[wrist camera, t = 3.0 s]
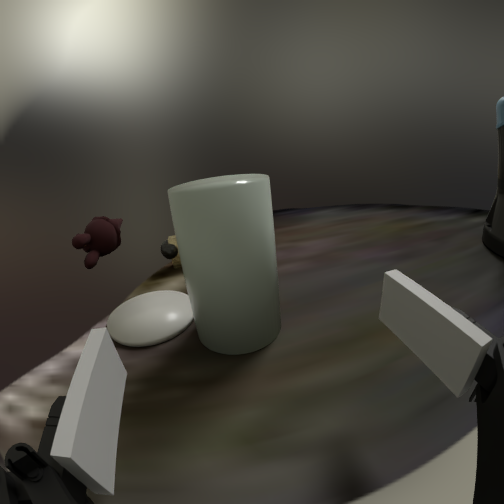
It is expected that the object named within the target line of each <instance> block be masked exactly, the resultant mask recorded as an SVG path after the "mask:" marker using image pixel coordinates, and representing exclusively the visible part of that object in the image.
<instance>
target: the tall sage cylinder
mask: <svg viewBox="0 0 504 504" xmlns="http://www.w3.org/2000/svg"><path fill="white" fill-rule="evenodd" d="M168 196H169V202H170V208H171V214H172V219H173V224H174V230H175V235H176V240H177V245H178V250H179V255H180V260H181V264H182V269H183V274H184V278H185V283H186V287H187V291H188V296H189V300H190V304H191V308H192V312H193V316H194V320H195V324H196V328H197V332H198V336H199V339H200V341H201V342H202V344H203V345H204V346H205V347H207V348H208V349H210V350H212V351H214V352H217V353H221V354H228V355H238V354H246V353H250V352H254V351H257V350H259V349H262V348H264V347H265V346H267V345H269V344H270V343H271V342H273V341H274V340H275V338H276V337H277V336H278V334H279V332H280V329H281V316H280V301H279V287H278V274H277V261H276V248H275V236H274V224H273V213H272V202H271V191H270V181H269V176H268V175H263V174H239V175H229V176H219V177H213V178H206V179H201V180H197V181H192V182H188V183H184V184H180V185H178V186H175V187H172V188H170V189H169V190H168Z"/></svg>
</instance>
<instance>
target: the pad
mask: <svg viewBox="0 0 504 504" xmlns="http://www.w3.org/2000/svg"><path fill="white" fill-rule="evenodd" d="M193 320H194V316H193V312H192V308H191V304H190V300H189V296H188V295H186V294H184V293H182V292H178V291H169V290H166V291H154V292H149V293H145V294H142V295H139V296H136V297H134V298H132V299H129V300H128V301H126V302H124V303H123V304H121V305H120V306H118V307H117V308H116V309H115V310H114V311H113V312H112V313H111V315H110V316H109V318H108V321H107V329H108V332H109V334H110V336H111V337H112V339H113V340H115V341H116V342H118V343H119V344H122V345H125V346H131V347H144V346H151V345H156V344H159V343H162V342H165V341H167V340H170V339H172V338H174V337H175V336H177V335H179V334H180V333H182V332H183V331H184V330H185V329H187V328H188V327H189V325H190V324H191V323H192V322H193Z"/></svg>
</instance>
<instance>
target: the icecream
mask: <svg viewBox="0 0 504 504" xmlns="http://www.w3.org/2000/svg"><path fill="white" fill-rule="evenodd" d="M122 221H123V220H122V219H109V218H107V217H104V216H103V217H94V218H93V219H92V221H91V222H90V223H89V224H88V225H87V226H86V229H85V232H84V234H77V235H76V236H75V237H74V238H73V239H72V245H73V246H74V247H75V248H76V249H82V248H83V250H84V251H85V252H87V253H88V252H89V253H88V254H87V256H86V258H85V260H84V262H85V267H86V268H87V269H91V268H93V267H94V266H95V265H96V264H97V261H98V259H99V257H100V256H104V255H107V254H110V253H111V252H112V251H114V250H115V249H116V248H117V247H118V246H120V244H121V238H120V227H121V224H122Z"/></svg>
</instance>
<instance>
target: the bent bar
mask: <svg viewBox="0 0 504 504" xmlns="http://www.w3.org/2000/svg"><path fill="white" fill-rule="evenodd" d="M161 253H162V255H163V256H164V257H165V258H167V259H172V262H173V266H174V269H176V268H181V267H182V264H181V260H180V255H179V250H178V245H177V240H176V235H174V236H169V237H168V240H166V241H164V242H163V243H162V245H161Z"/></svg>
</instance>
